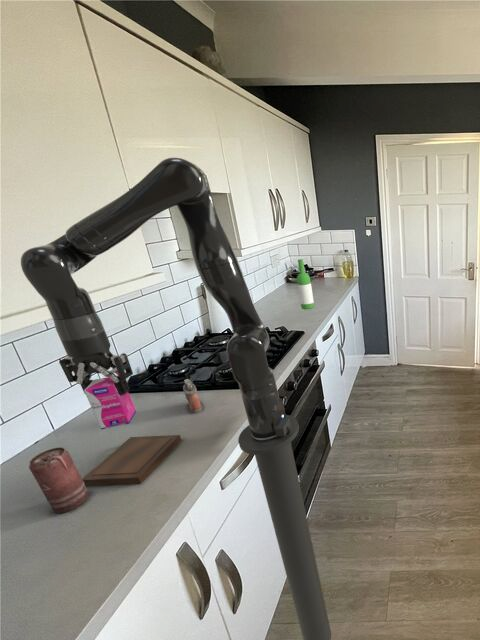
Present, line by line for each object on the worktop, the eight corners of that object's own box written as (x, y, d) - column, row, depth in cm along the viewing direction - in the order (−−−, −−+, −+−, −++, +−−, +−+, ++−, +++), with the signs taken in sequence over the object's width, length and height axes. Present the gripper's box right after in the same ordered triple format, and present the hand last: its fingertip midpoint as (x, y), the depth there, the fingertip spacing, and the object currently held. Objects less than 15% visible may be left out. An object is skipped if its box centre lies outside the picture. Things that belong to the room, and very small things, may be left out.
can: (76, 513, 79) (50, 464, 74) (46, 515, 78) (18, 466, 73) (97, 491, 84) (75, 445, 79) (70, 493, 84) (45, 447, 79)
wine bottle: (298, 308, 214) (290, 260, 203) (308, 305, 220) (301, 258, 209) (307, 310, 210) (299, 261, 199) (317, 307, 216) (310, 259, 205)
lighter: (187, 404, 119) (179, 378, 115) (198, 400, 121) (190, 375, 117) (192, 414, 113) (183, 387, 109) (204, 410, 115) (195, 383, 112)
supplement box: (100, 430, 85) (82, 390, 81) (109, 417, 90) (93, 379, 86) (129, 424, 87) (113, 384, 83) (137, 411, 92) (122, 373, 88)
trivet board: (181, 440, 101) (179, 434, 100) (141, 483, 86) (138, 476, 85) (132, 442, 101) (130, 436, 100) (83, 486, 86) (80, 479, 85)
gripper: (127, 325, 83) (148, 385, 89) (66, 328, 83) (92, 387, 89) (100, 338, 76) (126, 401, 82) (33, 340, 76) (64, 404, 82)
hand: (108, 394), depth 86 cm, fingers closed on supplement box, 7 cm apart
